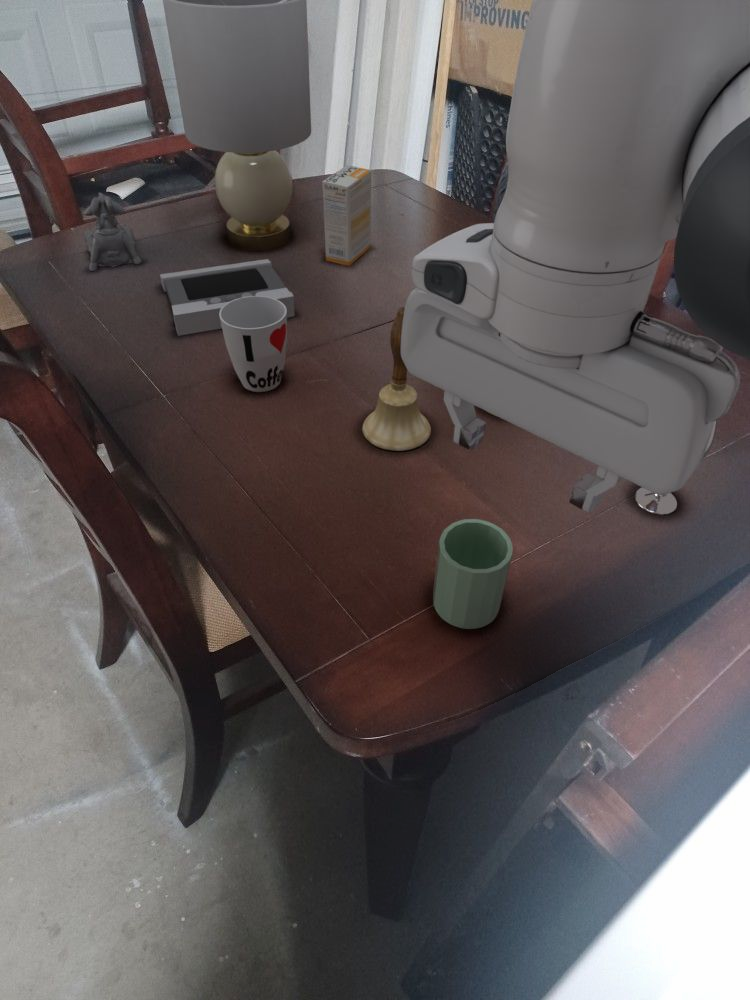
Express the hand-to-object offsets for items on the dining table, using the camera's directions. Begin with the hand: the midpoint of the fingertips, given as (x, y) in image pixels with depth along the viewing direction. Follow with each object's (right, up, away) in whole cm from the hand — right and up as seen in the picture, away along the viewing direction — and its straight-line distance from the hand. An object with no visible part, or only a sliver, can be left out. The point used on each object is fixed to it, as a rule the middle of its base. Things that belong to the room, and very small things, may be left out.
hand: (523, 472), depth 48 cm
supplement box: (-15, +40, +70) cm, 82 cm away
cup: (-25, +14, +43) cm, 52 cm away
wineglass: (+20, -2, +28) cm, 35 cm away
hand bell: (-8, +6, +36) cm, 37 cm away
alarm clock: (-33, +29, +58) cm, 73 cm away
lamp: (-31, +44, +75) cm, 92 cm away
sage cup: (-2, -12, +17) cm, 21 cm away
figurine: (-54, +39, +69) cm, 96 cm away
